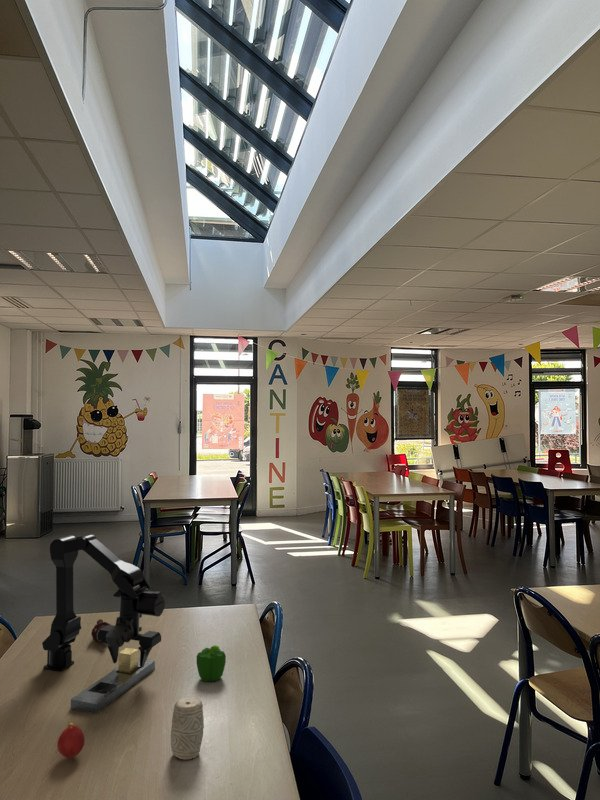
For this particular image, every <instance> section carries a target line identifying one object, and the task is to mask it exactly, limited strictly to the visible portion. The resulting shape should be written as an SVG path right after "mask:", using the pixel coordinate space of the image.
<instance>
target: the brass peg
mask: <svg viewBox="0 0 600 800" xmlns="http://www.w3.org/2000/svg"><path fill="white" fill-rule="evenodd" d="M138 658H139V649H138V648H132V647H124V649H122V650H121V651H118V659H117V662H118V663H117V664H118V665H117V667H118V673H121V674H127V675H132V674H133V673H135V672H136V671H137V670H138Z"/></svg>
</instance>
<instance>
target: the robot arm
mask: <svg viewBox="0 0 600 800" xmlns="http://www.w3.org/2000/svg"><path fill="white" fill-rule="evenodd" d="M81 550H82V551H83V552H85V553H86V554H87V555H88V556H89V557H90V558H91V559H93V560H94V561H95V562H96V563H97V564H98V565H99V566H101V567H102V568H103V569H104V570H105V571H106V572H108V573H109V575H110V576H111V580H112V582H113V583H114V585H115V586H116V587H117V589H118V590H116V592H115V593H113V597H115V598H119V616H117V617H116V620H115V624H114V625H113V624H111V625H107V626H105V627H104V628H102V629H100V630H99V631H98V633H97V640H100V641H101V643H100V644H103V645H105V646H106V647H107V649H108V652H109V654H110V657H111V659H112V663H113V664H116V663H117V662H118V659H119V652H120V649H119V648H122V646H123V645H124V644H125V643H130V641H138V645H139V647H138V648H137V649H138V651H140V653H139V658H140V668H143V667H144V664H145V662H146V660H147V659H148V657H149V654H150V652H151V651H152V649H153V648H154V647H156V645H158V644H159V643H161V642H162V634H161V633H160V632H159V631H155V630H154V631H153V630H148V631H146V632H144V633H140V632H142V630H143V629H142V626H140V618H143V616H151V617H157V618H158V617H160V616H161V615H162V614H163V612H164V610H165V607H166V602H165V598H164V597H163V596H162V592H161V591H153V590H152V588H151V587H150V585H149V583H148V582H147V579H146V578H145V577H144V571H142V569H141V568H139V567H137V566H136V565H134V564H133V563H129V562H126V561H124V560H122V559H120V558H119V557H118V556H117V555H116V554H114V553H113V552H112V551H111V550H110V549H109V548H108V547H106V545H104V544H103V543H102V542H100V541H99V540H98V539H97V537H96V535H94V534H87V535H82V536H77V537H76V536H75V535H66V536H62V537H59V538H56V539H53V540H52V541H51V542H50V544H49V553H50V554H49V555H50V560H51V561H52V563H53V565H54V566H55V588H56V589H55V591H56V592H55V598H56V601H55V604H56V606H55V616H54V618H53V619H52V622H51V625H50V630H49V631H50V632H49V635H48V636H47V637H46V638H45V639H44V640H43V641H42V642H41V643H42V649H43V650H44V651H47V653H46V655H47V657H46V658H47V659H46V664H45V665H43V667H42V669H45V670H52V671H56V672H61V671H63V670H65V669H66V668H68V667H69V666H71V665H73V664H74V663H75V661H74V660H73V659H72V657H73V654H72V653H73V650H72V643H74V642H76V638H77V636H79V634H80V630H82V625H81V624H82V623H81V622H82V621H81V620H82V618H81V617H82V616H80V615H77V614H76V612H74V611H75V610H74V564H75V562H76V560H77V558H78V556H79V551H81ZM137 587H139V588H137ZM151 590H152V591H151Z"/></svg>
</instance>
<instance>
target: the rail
mask: <svg viewBox="0 0 600 800" xmlns="http://www.w3.org/2000/svg"><path fill="white" fill-rule="evenodd" d="M155 664H156V661H155V660H153V659H148V658H147V660H146V662H145V664H144V667H143V668H140V657H138V670H137V671H136V672H135V673H133V674H132V675H127V674H121V673H118V666H117V667H115V668H114V669H113V670H111V671H110V672H109V673H107V674H106V675H104V676H103V677H100V679H98V680H97V681H95V682H94V683H92V684H91V685H90V686H88V687H87V688H85V689H83V690H82V691H81V692H79V693H78V694H77V695H75V696H73V697H72V698H70V710H76V711H79V712H80V711H81V712H86V713H90V714H96V715H97V714H98V713H99V712H100V711H102V710H103V709H104V708H106V707H107V706H109V705H110V704H111V703H113V701H115V700H116V699H117V698H119V697H120V696H121V695H123V694H124V693H126V692H127V691H128V690H129V689H131V687H134V686H135V685H136V684H137V683H139V682H140V681H141V680H142V679H144V678H145V677H146V676H147V675H149V674H150V673H152V672H153V671H154V670H155V669H156V665H155ZM101 692H105V693H101Z"/></svg>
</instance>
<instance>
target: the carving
mask: <svg viewBox="0 0 600 800" xmlns="http://www.w3.org/2000/svg"><path fill="white" fill-rule="evenodd" d="M203 708H204V705H203V702H202V700H201V699H200V698H198V697H196V696H183V697H180V698H179V699H177V701H175V704H174V706H173V713H172V716H171V717H172V718H171V729H170V748H171V752H172V754H173V755H174V757H176V758H178V759H180V760H185V761H186V760H193V759H195V758H197V757H198V756H199V754H200V752H201V745H202V742H203V736H204V729H205V725H204V724H205V723H204V722H205V721H204V719H205V718H204V709H203ZM196 756H197V757H196ZM192 758H193V759H192Z"/></svg>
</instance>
